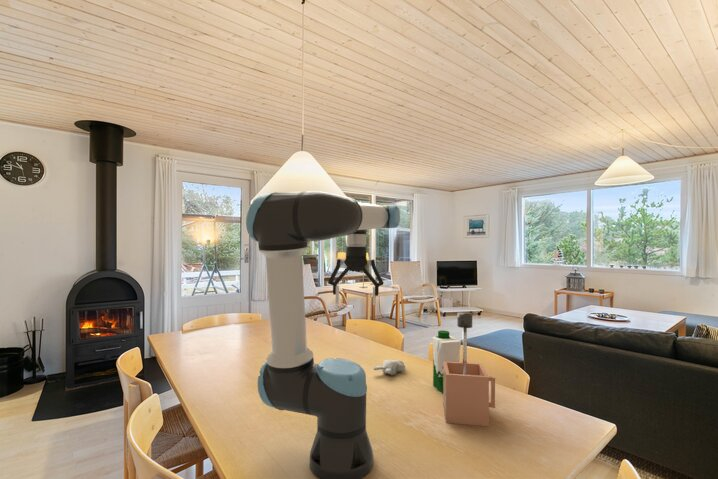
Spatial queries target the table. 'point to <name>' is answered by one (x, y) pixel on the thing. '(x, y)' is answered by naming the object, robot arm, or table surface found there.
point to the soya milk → (443, 355)
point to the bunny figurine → (391, 367)
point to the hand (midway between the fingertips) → (355, 304)
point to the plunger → (464, 334)
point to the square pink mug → (467, 393)
